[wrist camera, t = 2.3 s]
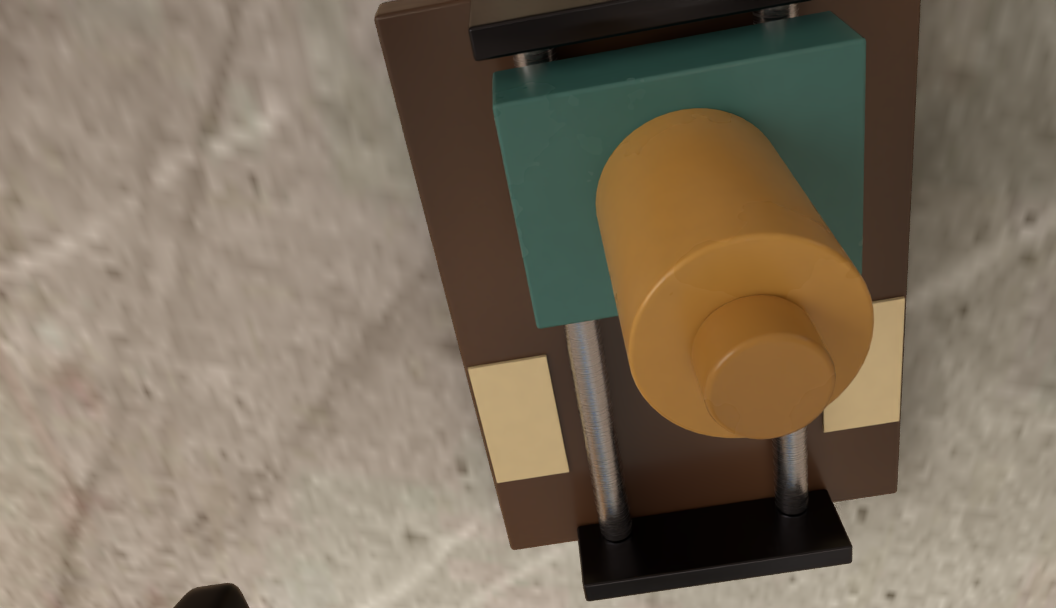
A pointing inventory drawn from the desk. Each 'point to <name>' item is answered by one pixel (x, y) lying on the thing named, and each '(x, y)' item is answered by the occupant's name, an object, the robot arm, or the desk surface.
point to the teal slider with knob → (702, 214)
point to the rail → (598, 346)
